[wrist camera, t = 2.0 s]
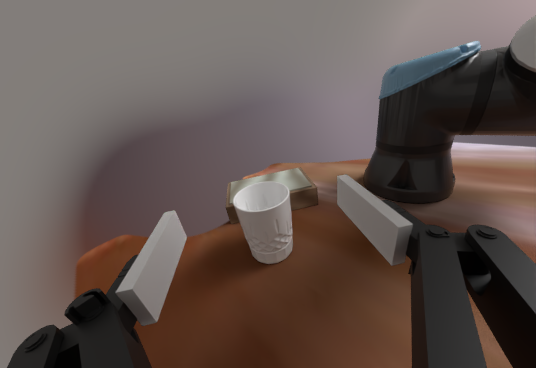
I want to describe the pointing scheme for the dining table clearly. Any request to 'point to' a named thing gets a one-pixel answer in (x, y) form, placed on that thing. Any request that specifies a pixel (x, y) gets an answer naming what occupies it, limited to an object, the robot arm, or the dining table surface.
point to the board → (294, 179)
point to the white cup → (266, 220)
